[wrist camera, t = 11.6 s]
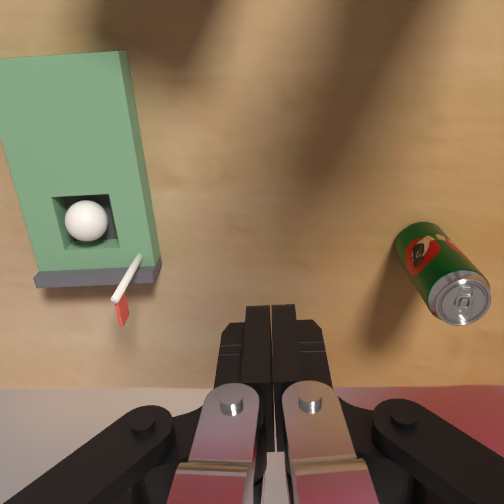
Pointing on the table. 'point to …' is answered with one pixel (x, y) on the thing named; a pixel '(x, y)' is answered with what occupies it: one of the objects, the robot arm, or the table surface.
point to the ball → (86, 220)
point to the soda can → (443, 274)
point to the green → (79, 168)
